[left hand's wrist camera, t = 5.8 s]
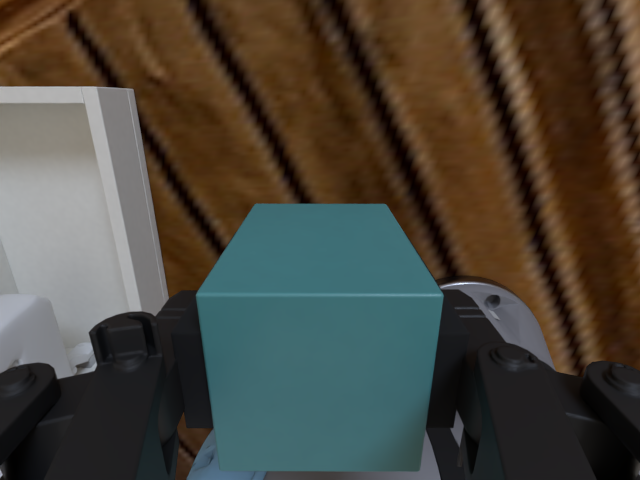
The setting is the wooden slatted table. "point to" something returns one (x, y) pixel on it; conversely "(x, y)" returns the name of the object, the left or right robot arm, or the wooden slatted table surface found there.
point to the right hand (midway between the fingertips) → (93, 359)
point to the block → (319, 341)
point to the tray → (77, 206)
